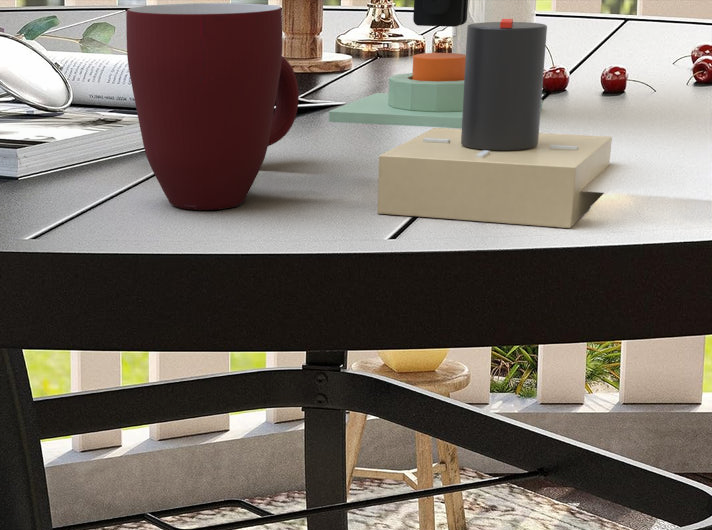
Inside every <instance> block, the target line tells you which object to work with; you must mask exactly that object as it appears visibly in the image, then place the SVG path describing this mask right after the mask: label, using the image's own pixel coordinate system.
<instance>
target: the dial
mask: <svg viewBox="0 0 712 530" xmlns="http://www.w3.org/2000/svg"><path fill="white" fill-rule="evenodd" d="M547 31H548V26H547V24H544V23H539V22H529V21H528V22H527V21H526V22H525V21H514V19H513V18H502V19H501V21H488V22H476V23H470V24H468V25H467V27H466V45H465V55H466V61H465V78H464V96H463V114H462V128H461V129H462V132H461V144H462V145H463V146H465V147H469V148H473V149H481V150H496V151H510V150H524V149H530V148H533V147H536V146H537V145H538V138H539V133H540V124H541V113H542V112H541V111H542V110H541V100H543V99H542V97H543V96H542V95H543V87H544V86H543V85H544V72H545V59H546V48H547V47H546V46H547V33H548V32H547Z"/></svg>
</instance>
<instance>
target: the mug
mask: <svg viewBox="0 0 712 530" xmlns="http://www.w3.org/2000/svg"><path fill="white" fill-rule="evenodd" d="M125 19H126V20H125V21H126V22H125V23H126V25H125V27H126V28H125V29H126V30H125V32H126V57H127V66H128V72H129V78H130V83H131V88H132V93H133V99H134V104H135V109H136V113H137V119H138V124H139V130H140V134H141V138H142V144H143V148H144V152H145V156H146V159H147V161H148V164H149V167H150V169H151V170H152V172H153V175H154V176H155V178H156V180H157V182H158V184H159V185H160V188H161V190H162V191H163V193H164V195H165V197H166V199H167V201H168V203H170V205H171V206H173V207H176V208H179V209H182V210H193V211H195V210H196V211H216V210H226V209H231V208H232V209H233V208H235V207H238V206H240V205H242V204H244V202H245V200H246V198H247V196H248V194H249V193H250V190H251V188H252V186H253V184H254V183H255V180H256V179H257V176H258V174H259V172H260V170H261V168H262V165H263V163H264V161H265V157H266V155H267V151H268V147H270V146H272V145H274V144H277V143H278V142H279V141H281V140H282V139H283V138H284V137H285V136H286V135H287V134H288V133H289V131H291V128H292V126H293V125H294V123H295V119H296V117H297V113H298V109H299V100H300V99H299V98H300V97H299V96H300V93H299V84H298V80H297V76H296V73H295V71H294V69H293V66H292V65H291V64H290V62H289V61H288V60H287V59H286V57H284V56H283V10H282V7H281V6H278V5H273V4H262V3H261V4H260V3H234V2H233V3H232V2H202V3H201V2H200V3H198V2H197V3H169V4H168V3H167V4H154V5H143V6H134V7H130V8H127V9H126V14H125Z"/></svg>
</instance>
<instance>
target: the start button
mask: <svg viewBox="0 0 712 530" xmlns="http://www.w3.org/2000/svg"><path fill="white" fill-rule="evenodd" d="M465 61H466V54H464V53H455V52H427V53H425V52H424V53H416V54H413V55H412V72H411V73H412V80H419V81H461V80H464V78H465Z"/></svg>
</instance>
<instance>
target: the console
mask: <svg viewBox="0 0 712 530" xmlns="http://www.w3.org/2000/svg"><path fill="white" fill-rule="evenodd" d="M461 132H462V128H446V127H432V128H431V129H429V130H427V131H425V132H423V133H421V134H419V135H417V136H415V137H413V138H411V139H410V140H407V141H405V142H403V143H401V144H399V145H398V146H395V147H393V148H392V149H389V150H388V151H386V152H383V153H382V154H379V156H378V178H377V179H378V180H377V181H378V184H377V185H378V186H377V210H376V212H377V214H378V215H392V216H403V217H404V216H405V217H416V218H418V217H419V218H429V219H442V220H443V219H444V220H456V221H471V222H483V223H497V224H510V225H522V226H534V227H536V226H537V227H546V228H547V227H550V228H562V229H572V227H573V226H574V225H575V224H576V223H577V222H578V221H579V220H580V219H581V218H582V217H583V216H584V215H585V214H586V213H587V212H588V211H589V210H590V209H591V207H592V206H593V205H594V204H595V203H596V202H597V201H598V200H599V199H600V198H602V196H603V195H604V194H605V192H600V191H598V192H597V191H583V189H584V188H585V187H587V186H588V185H589V184H590V183H591V182H593V180H594V179H596V177H598V175H600V174H601V173H602V172H603V171H604V170H605V169H606V168H607V167H608V166H609V165H610V160H611V151H612V140H613V137H612V136H607V135H606V136H605V135H604V136H603V135H587V134H586V135H584V134H565V133H543V132H539V138H538V145H537V146H536V147H533V148H530V149H524V150H510V151H496V150H481V149H473V148H469V147H465V146H463V145H462V144H461Z"/></svg>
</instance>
